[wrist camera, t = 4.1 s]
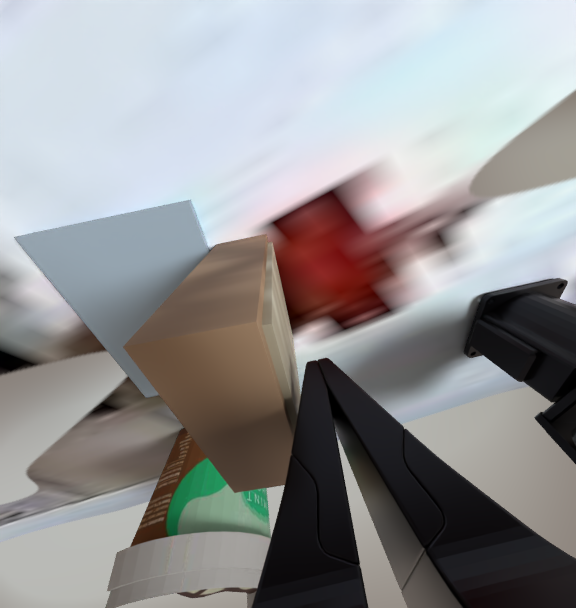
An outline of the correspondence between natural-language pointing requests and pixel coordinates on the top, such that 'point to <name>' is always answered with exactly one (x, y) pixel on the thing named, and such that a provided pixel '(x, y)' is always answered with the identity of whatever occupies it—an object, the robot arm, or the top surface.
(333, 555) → the robot arm
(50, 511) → the top surface
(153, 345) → the wooden block
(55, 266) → the board
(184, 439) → the food container
